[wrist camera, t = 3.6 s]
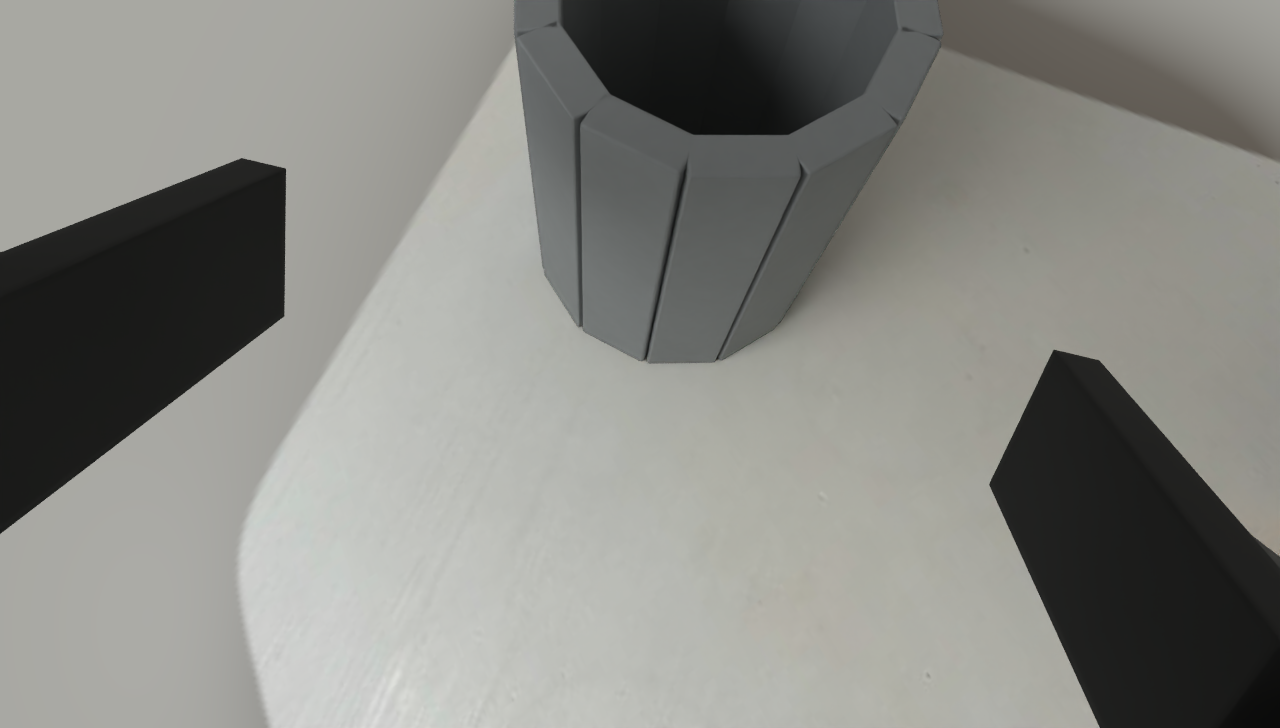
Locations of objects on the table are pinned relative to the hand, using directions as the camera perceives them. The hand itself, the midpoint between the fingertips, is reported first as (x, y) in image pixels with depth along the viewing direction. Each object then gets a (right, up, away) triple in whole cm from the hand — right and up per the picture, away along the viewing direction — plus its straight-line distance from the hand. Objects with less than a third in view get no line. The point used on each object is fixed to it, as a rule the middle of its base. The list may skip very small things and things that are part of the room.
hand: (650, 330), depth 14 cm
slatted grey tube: (+1, +4, +15) cm, 16 cm away
